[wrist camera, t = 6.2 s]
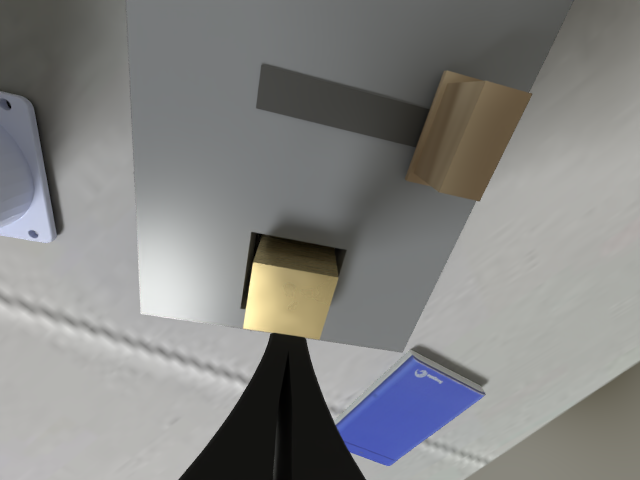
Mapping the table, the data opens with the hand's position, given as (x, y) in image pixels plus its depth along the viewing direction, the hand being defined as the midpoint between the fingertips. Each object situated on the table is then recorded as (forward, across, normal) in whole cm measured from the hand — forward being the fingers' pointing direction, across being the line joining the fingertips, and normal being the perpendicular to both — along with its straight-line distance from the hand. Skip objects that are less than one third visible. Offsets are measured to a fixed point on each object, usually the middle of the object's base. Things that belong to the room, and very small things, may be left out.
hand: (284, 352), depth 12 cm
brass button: (+6, 0, 0) cm, 6 cm away
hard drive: (+9, -12, +14) cm, 20 cm away
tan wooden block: (+5, -5, -9) cm, 11 cm away
